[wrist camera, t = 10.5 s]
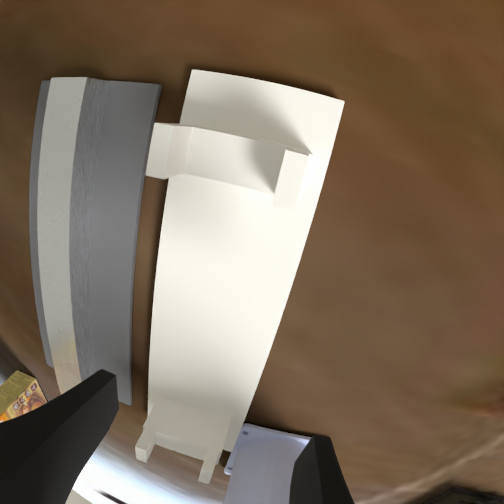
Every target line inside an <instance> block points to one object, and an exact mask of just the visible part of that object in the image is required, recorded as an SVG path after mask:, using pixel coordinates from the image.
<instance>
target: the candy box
mask: <svg viewBox="0 0 504 504" xmlns="http://www.w3.org/2000/svg"><path fill="white" fill-rule="evenodd" d="M45 403H47V400H46V398H45V396H44V394H43V392H42V390H41V388H40V386H39V383H38V381H37V379H36V378H34V377H32V376H29V375H27V374H25V373H23V372H20V371H18V370H17V371H15V372H14V373H13V374H12V375H11V376H10V377H9V378H8V379H7V380H6V381H5V382H4V383H3V384H2V385H1V386H0V423H1V422H4V421H7V420H10V419H13V418H15V417H18V416H20V415H23V414H25V413H27V412H30V411H32V410H34V409H36V408H38V407H40V406H42V405H44V404H45Z"/></svg>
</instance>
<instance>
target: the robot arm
mask: <svg viewBox="0 0 504 504" xmlns="http://www.w3.org/2000/svg"><path fill="white" fill-rule="evenodd" d="M118 410H119V404H118V392H117V378H116V375H115V374H113V373H111V372H108V371H106V370H104V369H100V370H98V371H97V372H96V373H94V374H93V375H91V376H90V377H88V378H87V379H85V380H84V381H82V382H81V383H79V384H77V385H76V386H74V387H73V388H71V389H70V390H68V391H66V392H65V393H63V394H61V395H60V396H58V397H56V398H55V399H53V400H51V401H49V402H47V403H45V404H44V405H42V406H40V407H38V408H36V409H34V410H32V411H30V412H27V413H25V414H23V415H20V416H18V417H15V418H13V419H10V420H7V421H4V422H1V423H0V504H65V502H66V500H67V498H68V496H69V494H70V492H71V489H72V487H73V485H74V483H75V481H76V479H77V477H78V476H79V474H80V472H81V470H82V469H83V467H84V466H85V464H86V463H87V461H88V460H89V458H90V457H91V455H92V454H93V452H94V451H95V449H96V448H97V447H98V445H99V444H100V442H101V441H102V439H103V438H104V436H105V435H106V433H107V431H108V430H109V428H110V426H111V424H112V422H113V420H114V418H115V416H116V414H117V412H118ZM224 472H225V473H226V474H228V475H231V477H230V480H229V484H228V488H227V492H226V496H225V500H224V503H223V504H354V502H353V499H352V497H351V495H350V492H349V490H348V487H347V485H346V482H345V480H344V477H343V474H342V472H341V469H340V466H339V463H338V460H337V457H336V454H335V451H334V447H333V444H332V441H331V439H330V437H325V436H319V435H313V436H312V437H307V436H302V435H296V434H291V433H287V432H282V431H277V430H273V429H268V428H264V427H260V426H256V425H252V424H247V423H245V424H243V425H242V428H241V431H240V433H239V436H238V438H237V441H236V443H235V446H234V448H233V451H232V452H231V454H230V456H229V459H228V461H227V464H226V466H225V469H224Z"/></svg>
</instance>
